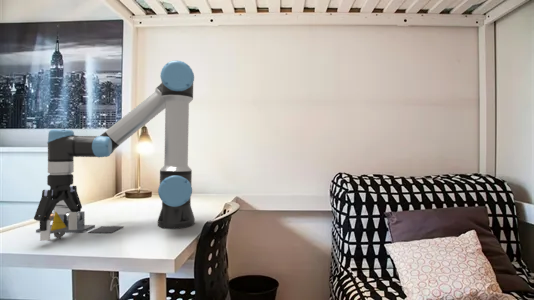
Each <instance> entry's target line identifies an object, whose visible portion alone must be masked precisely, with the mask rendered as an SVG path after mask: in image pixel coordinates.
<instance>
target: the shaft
mask: <svg viewBox="0 0 534 300" xmlns="http://www.w3.org/2000/svg"><path fill="white" fill-rule="evenodd" d="M58 214H66V221H68V215H69V213H58ZM54 215H55V213H54V212H52V213H51V215H50V217H49V219H48V220H50V223H51V222H53V219H54ZM80 219H81V214H80V213H78V216H77V221H79V220H80Z"/></svg>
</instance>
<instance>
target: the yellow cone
mask: <svg viewBox="0 0 534 300" xmlns="http://www.w3.org/2000/svg"><path fill="white" fill-rule="evenodd" d="M51 225H52V227H51V231H50V235H52V234H53V237H54V238H56V239H58V240H61V238H62V237H64V236H65V235H66V233H65V230H68V227H66V225H65V224H64V222H63V221H62V219H61V218H60V216H59V215H58V213H57V212H56V211H55V215H54V219H53V221H52V224H51ZM58 232H60V233H58Z"/></svg>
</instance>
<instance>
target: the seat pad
mask: <svg viewBox="0 0 534 300" xmlns="http://www.w3.org/2000/svg"><path fill="white" fill-rule="evenodd" d="M123 228H124V226H121V225H120V226H119V225H118V226H114V225H110V226H109V225H106V226H105V225H101V226H99V227H97V228H96V227H95V228H93V229H91V230H88V234H114V233H115V232H117V231H119V230H121V229H123Z"/></svg>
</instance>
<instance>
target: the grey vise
mask: <svg viewBox="0 0 534 300" xmlns="http://www.w3.org/2000/svg"><path fill="white" fill-rule="evenodd" d="M69 212H71V211H69ZM69 212H66V213H69ZM78 213H80V214H81V219H80V220H79V221H77V230H69V215H68V221H66V214H58V215H59V216H60V218H61V219H62V221H63V222H64V224H65V225H66V227H68V230H65V234H66V233H67V234H68V233H69V234H71V233H72V234H73V233H76V234H77V233H78V234H79V233H80V234H83V233H85V232H87V231H88V232H89V231H91V230H94V229H96V224H85V220H86V219H85V211H82V210H81V211H80V212H78ZM51 227H52V224H50V231H51ZM35 233H40V228H37V229H35ZM58 233H60V232H58Z"/></svg>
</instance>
